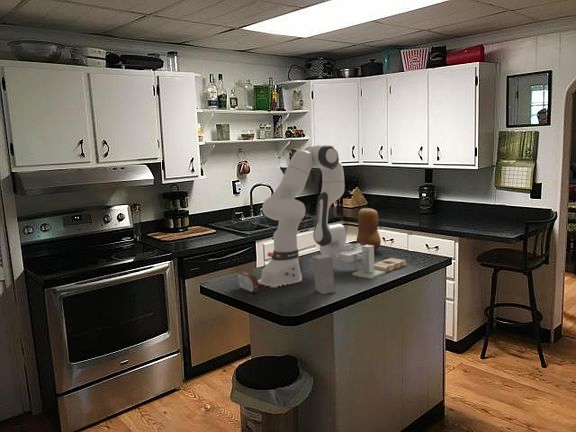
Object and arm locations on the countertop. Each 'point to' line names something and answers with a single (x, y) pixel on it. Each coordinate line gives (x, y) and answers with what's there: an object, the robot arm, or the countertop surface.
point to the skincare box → (323, 273)
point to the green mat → (368, 274)
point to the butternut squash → (368, 228)
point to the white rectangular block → (368, 258)
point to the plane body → (389, 264)
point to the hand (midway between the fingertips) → (369, 256)
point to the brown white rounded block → (248, 281)
